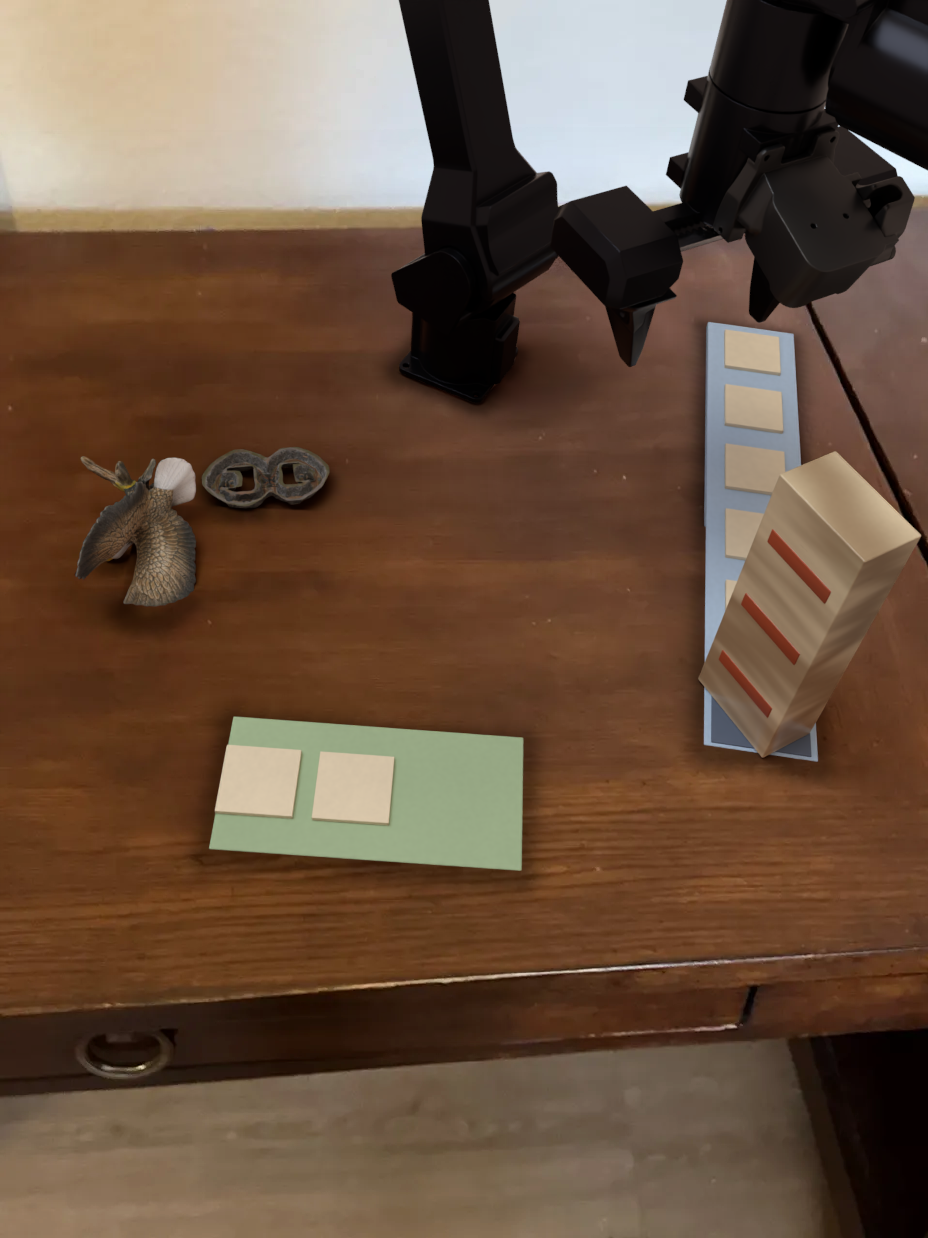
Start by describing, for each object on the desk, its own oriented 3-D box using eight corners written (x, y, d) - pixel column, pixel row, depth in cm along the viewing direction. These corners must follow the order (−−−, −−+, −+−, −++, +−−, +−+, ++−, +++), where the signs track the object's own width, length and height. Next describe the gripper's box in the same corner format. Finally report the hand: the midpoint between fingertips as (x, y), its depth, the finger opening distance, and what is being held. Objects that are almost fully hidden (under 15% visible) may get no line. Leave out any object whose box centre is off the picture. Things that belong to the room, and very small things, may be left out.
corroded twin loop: (333, 509, 77) (333, 498, 76) (205, 519, 75) (203, 508, 74) (325, 452, 80) (325, 441, 79) (201, 462, 78) (199, 450, 77)
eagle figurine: (53, 505, 74) (48, 602, 67) (102, 415, 70) (102, 508, 64) (169, 547, 78) (175, 642, 71) (221, 464, 74) (232, 556, 68)
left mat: (209, 854, 62) (208, 846, 61) (234, 721, 67) (232, 713, 66) (520, 875, 63) (522, 868, 62) (522, 742, 67) (524, 734, 67)
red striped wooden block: (761, 759, 67) (864, 562, 54) (696, 679, 70) (778, 474, 56) (810, 733, 68) (923, 534, 55) (745, 655, 71) (836, 449, 58)
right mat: (815, 766, 68) (820, 758, 67) (701, 750, 68) (705, 741, 67) (791, 339, 90) (794, 330, 90) (706, 327, 90) (708, 317, 90)
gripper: (712, 223, 50) (638, 484, 62) (1032, 127, 56) (907, 381, 69) (567, 86, 55) (526, 351, 68) (874, 13, 62) (786, 267, 74)
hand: (693, 339), depth 69 cm, fingers open, 9 cm apart
